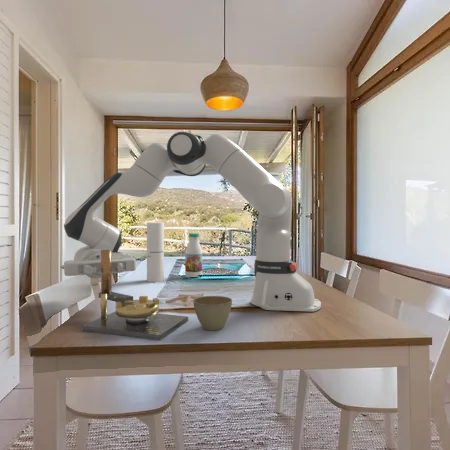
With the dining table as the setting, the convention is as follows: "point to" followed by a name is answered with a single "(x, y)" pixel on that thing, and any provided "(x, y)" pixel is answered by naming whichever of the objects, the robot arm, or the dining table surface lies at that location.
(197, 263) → the milk bottle
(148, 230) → the cylindrical container
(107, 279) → the crank handle
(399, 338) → the dining table surface
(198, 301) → the flower pot
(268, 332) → the dining table surface
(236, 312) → the dining table surface
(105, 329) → the flange base
